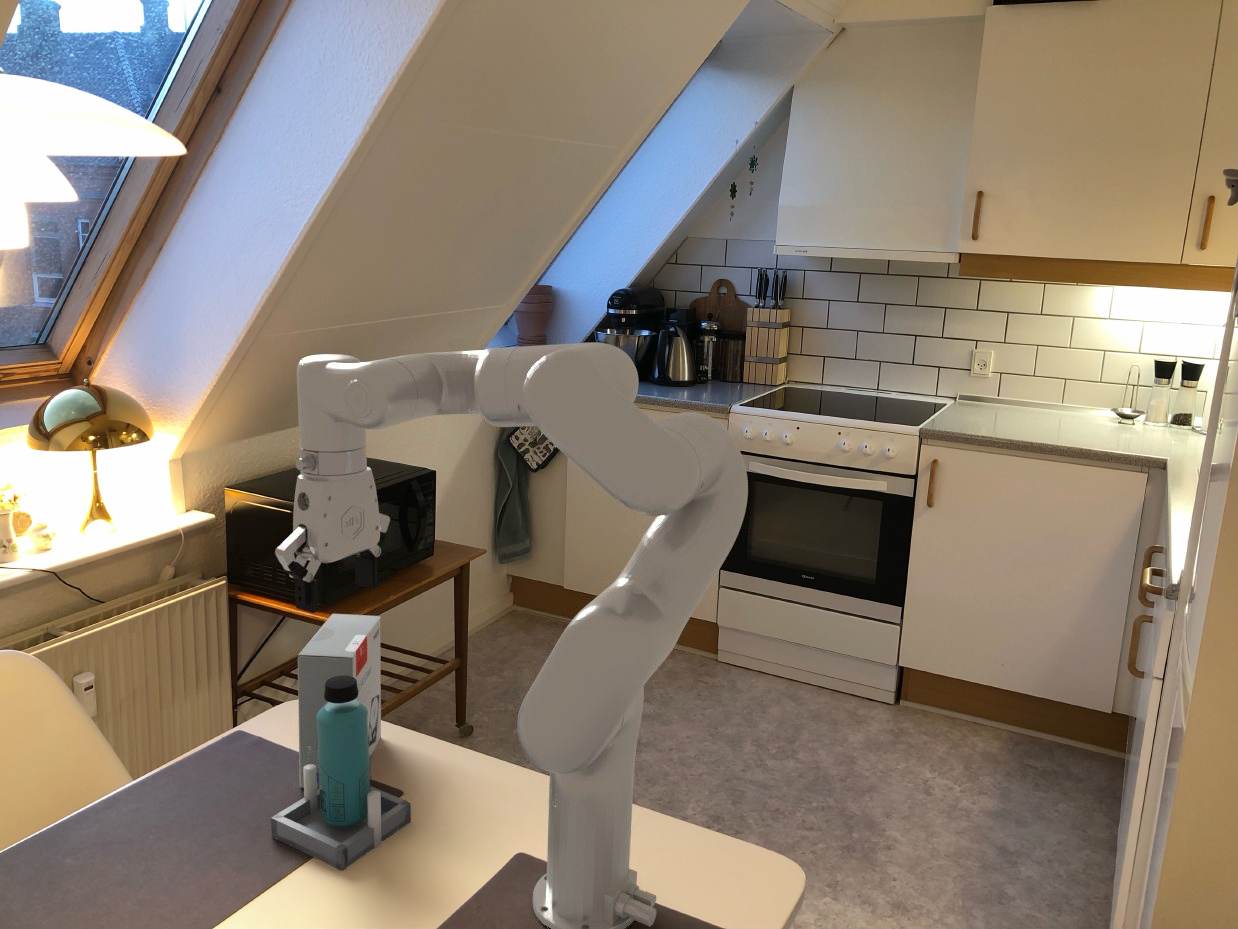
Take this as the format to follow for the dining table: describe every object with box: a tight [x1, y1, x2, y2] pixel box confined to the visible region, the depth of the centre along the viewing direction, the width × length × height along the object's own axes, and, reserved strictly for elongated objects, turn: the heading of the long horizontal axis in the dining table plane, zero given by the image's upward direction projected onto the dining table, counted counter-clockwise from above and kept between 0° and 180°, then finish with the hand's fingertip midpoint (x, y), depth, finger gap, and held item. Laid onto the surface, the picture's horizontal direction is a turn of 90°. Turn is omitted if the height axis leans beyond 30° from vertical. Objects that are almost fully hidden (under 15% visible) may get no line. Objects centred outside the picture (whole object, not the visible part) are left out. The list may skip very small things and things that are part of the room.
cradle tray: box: [270, 764, 412, 871], centre depth 126 cm, size 13×12×7 cm
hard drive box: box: [297, 613, 382, 789], centre depth 141 cm, size 16×8×20 cm, turn 179°
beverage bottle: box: [316, 675, 372, 826], centre depth 125 cm, size 6×7×20 cm
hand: (337, 597), depth 120 cm, fingers open, 9 cm apart
